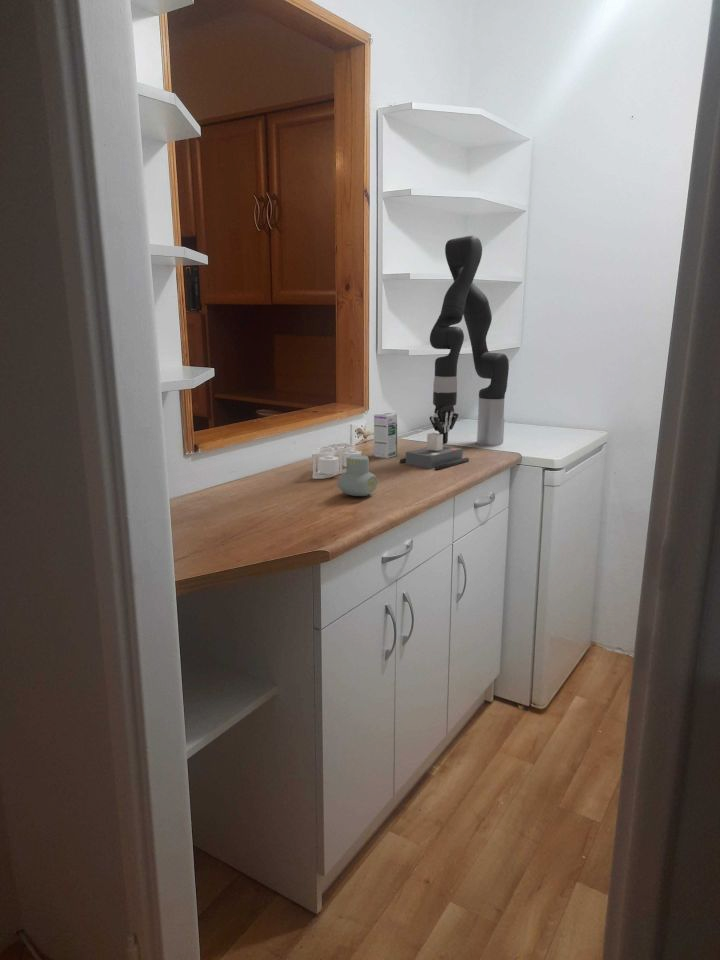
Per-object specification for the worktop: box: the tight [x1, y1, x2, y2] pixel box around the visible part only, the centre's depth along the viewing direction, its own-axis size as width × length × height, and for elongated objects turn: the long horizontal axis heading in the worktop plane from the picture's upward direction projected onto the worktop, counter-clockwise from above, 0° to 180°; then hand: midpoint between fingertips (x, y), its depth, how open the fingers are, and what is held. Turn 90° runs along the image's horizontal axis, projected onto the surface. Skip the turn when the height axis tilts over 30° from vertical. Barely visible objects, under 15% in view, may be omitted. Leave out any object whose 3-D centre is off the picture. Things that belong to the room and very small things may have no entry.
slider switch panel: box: [399, 457, 470, 471], centre depth 219 cm, size 17×15×1 cm
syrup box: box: [373, 412, 398, 459], centre depth 227 cm, size 6×6×14 cm
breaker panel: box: [405, 445, 464, 470], centre depth 219 cm, size 17×10×4 cm, turn 137°
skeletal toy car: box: [311, 442, 362, 480], centre depth 205 cm, size 20×11×7 cm, turn 143°
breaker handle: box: [426, 432, 444, 451], centre depth 217 cm, size 3×4×5 cm
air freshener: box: [337, 455, 379, 497], centre depth 180 cm, size 11×8×10 cm
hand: (443, 443), depth 221 cm, fingers closed
